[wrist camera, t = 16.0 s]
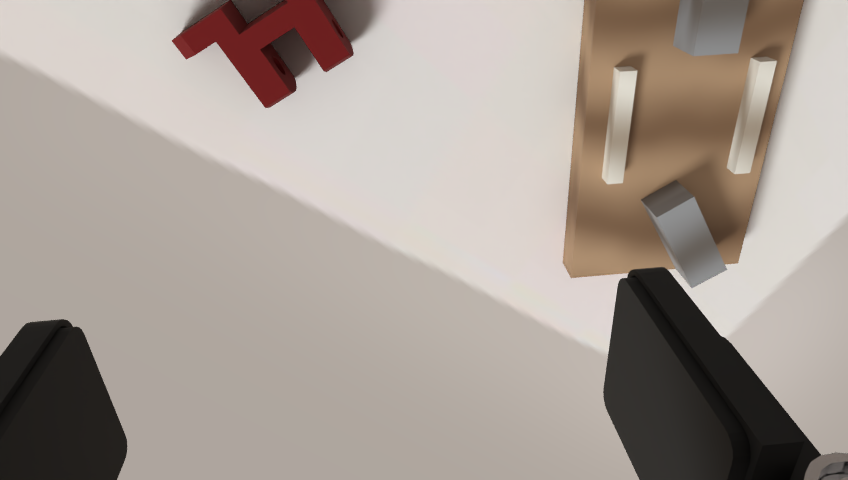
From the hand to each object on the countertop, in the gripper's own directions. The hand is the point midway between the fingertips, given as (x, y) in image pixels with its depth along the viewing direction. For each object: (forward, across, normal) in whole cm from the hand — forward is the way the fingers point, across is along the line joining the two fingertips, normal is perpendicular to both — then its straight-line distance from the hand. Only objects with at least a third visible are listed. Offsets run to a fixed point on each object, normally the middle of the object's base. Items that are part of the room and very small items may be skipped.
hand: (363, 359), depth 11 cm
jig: (+28, -19, +6) cm, 35 cm away
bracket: (+27, 0, -3) cm, 27 cm away
